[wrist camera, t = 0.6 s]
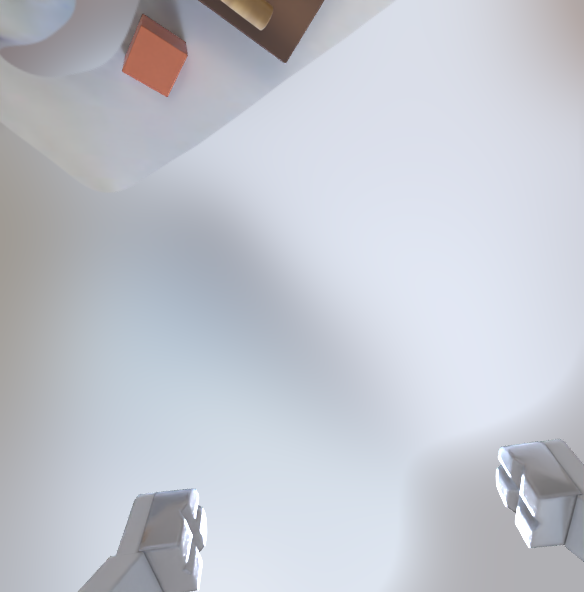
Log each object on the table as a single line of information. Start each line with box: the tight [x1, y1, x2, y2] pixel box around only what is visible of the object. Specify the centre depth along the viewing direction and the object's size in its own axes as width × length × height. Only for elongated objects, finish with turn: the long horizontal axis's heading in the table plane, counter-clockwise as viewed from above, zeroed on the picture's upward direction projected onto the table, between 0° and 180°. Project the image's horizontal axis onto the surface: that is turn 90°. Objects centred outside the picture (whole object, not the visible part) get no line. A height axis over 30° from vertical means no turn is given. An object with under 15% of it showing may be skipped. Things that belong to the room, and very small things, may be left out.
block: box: [122, 14, 187, 97], centre depth 41 cm, size 4×4×4 cm
